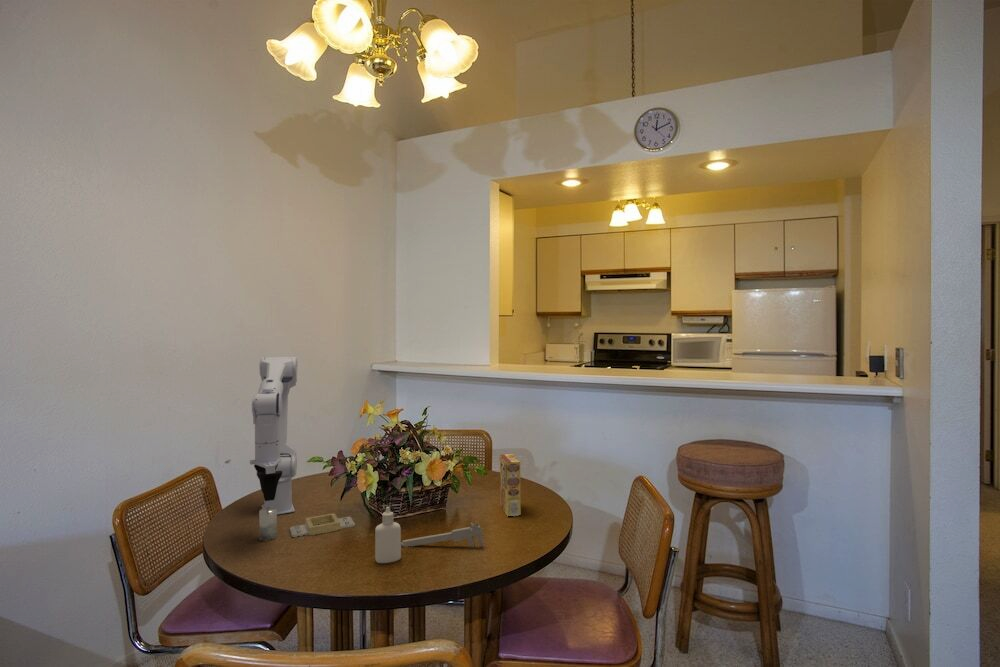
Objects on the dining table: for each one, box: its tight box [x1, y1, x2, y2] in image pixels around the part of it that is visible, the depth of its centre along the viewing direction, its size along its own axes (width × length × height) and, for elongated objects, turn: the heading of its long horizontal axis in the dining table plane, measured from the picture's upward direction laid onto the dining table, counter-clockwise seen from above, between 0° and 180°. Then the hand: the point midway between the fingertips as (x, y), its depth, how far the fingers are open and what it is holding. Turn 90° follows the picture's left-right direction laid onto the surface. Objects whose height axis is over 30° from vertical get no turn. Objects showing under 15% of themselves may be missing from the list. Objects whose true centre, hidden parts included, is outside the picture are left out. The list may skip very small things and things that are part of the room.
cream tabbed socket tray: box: [289, 512, 356, 538], centre depth 136 cm, size 8×16×2 cm, turn 118°
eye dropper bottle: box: [374, 506, 402, 564], centre depth 118 cm, size 4×6×12 cm
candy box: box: [499, 453, 522, 518], centre depth 148 cm, size 9×4×15 cm, turn 13°
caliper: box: [401, 521, 483, 548], centre depth 125 cm, size 20×1×6 cm, turn 88°
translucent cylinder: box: [258, 507, 278, 541], centre depth 130 cm, size 4×4×7 cm
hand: (268, 495), depth 130 cm, fingers open, 7 cm apart
